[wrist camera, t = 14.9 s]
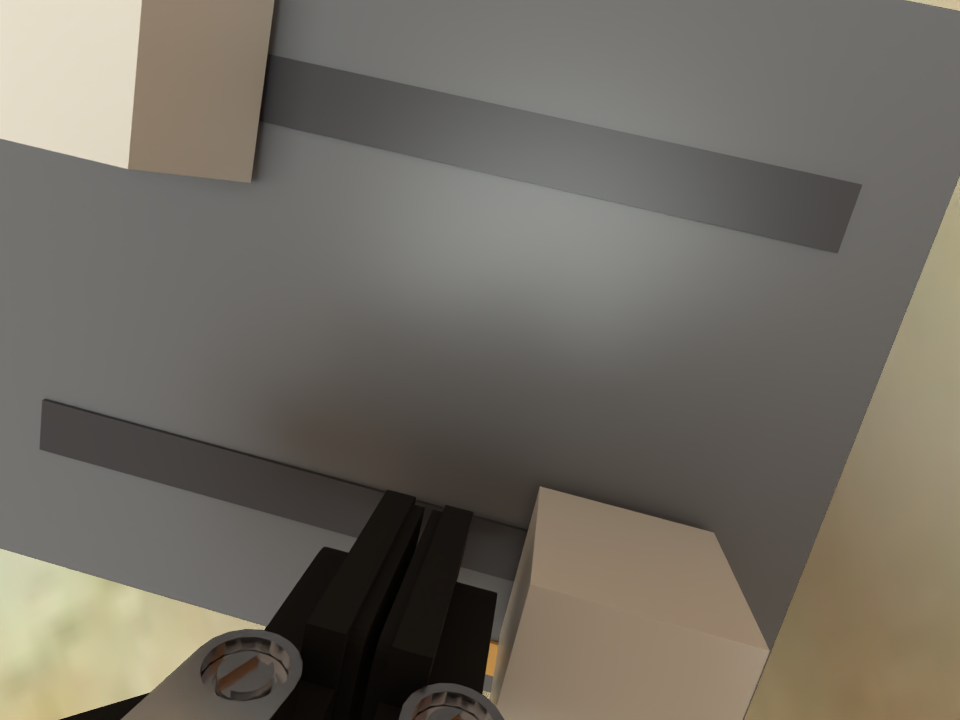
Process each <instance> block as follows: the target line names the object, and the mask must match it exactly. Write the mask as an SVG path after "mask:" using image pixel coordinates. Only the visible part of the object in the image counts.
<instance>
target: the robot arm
mask: <svg viewBox="0 0 960 720" xmlns="http://www.w3.org/2000/svg"><path fill="white" fill-rule="evenodd" d="M415 503H416V497H414V496H411V495H407V494H403V493H399V492H395V491H391V490H387V491H386V492H385V494H384V495H383V497H382V499H381V500H380V502H379V504H378V505H377V507H376V509H375V510H374V512H373V513H372V515H371V517H370V518H369V520H368V522H367V523H366V525H365V527H364V528H363V530H362V532H361V533H360V535H359V536H358V538H357V540H356V541H355V543H354V545H353V546H352V548H351V550H350V551H349V553H348V552H344V551H341V550H337V549H333V548H329V547H323V548H322V549H321V550H320V551H319V552H318V554H317V555H316V557H315V558H314V560H313V561H312V562H311V564H310V565H309V567H308V568H307V570H306V571H305V572H304V574H303V575H302V577H301V578H300V580H299V581H298V582H297V584H296V585H295V587H294V588H293V590H292V591H291V592H290V594H289V595H288V597H287V598H286V600H285V601H284V603H283V604H282V605H281V607H280V608H279V610H278V611H277V613H276V614H275V615H274V617H273V618H272V620H271V621H270V623H269V624H268V625H267V627H266V628H265V630H253V629H244V630H238V631H232V632H228V633H225V634H222V635H220V636H217V637H215V638H213V639H211V640H210V641H208V642H207V643H205V644H204V645H203V646H201V647H200V648H199V649H198V650H197V651H195V652H194V653H193V654H192V655H191V656H190V657H189V658H188V659H187V660H186V661H184V662H183V663H182V664H181V665H180V666H179V667H178V668H177V669H176V670H175V671H174V672H172V673H171V674H170V675H169V676H168V677H167V678H166V679H165V680H164V681H163V682H161V683H160V684H159V685H158V686H157V687H156V688H155V689H154V690H153V691H152V692H150V693H147V694H144V695H140V696H137V697H134V698H130V699H127V700H124V701H120V702H117V703H114V704H110V705H107V706H104V707H100V708H97V709H94V710H90V711H87V712H84V713H80V714H77V715H73V716H70V717H67V718H63V719H60V720H504V718H503V717H502V715H501V713H500V712H499V710H498V709H497V707H496V706H495V705H494V704H493V703H492V702H491V701H490V700H488V699H487V698H486V697H485V696H484V695H482V692H483V686H484V679H485V673H486V666H487V660H488V653H489V647H490V640H491V634H492V627H493V621H494V614H495V608H496V601H497V592H493V591H489V590H485V589H482V588H478V587H474V586H471V585H467V584H463V583H459V582H457V579H458V575H459V571H460V567H461V563H462V559H463V555H464V550H465V546H466V542H467V538H468V534H469V530H470V526H471V521H472V517H473V513H474V512H472V511H468V510H464V509H460V508H456V507H452V506H449V505H445V507H444V510H443V512H441V511H437V510H432V512H431V514H430V517H429V519H428V521H427V524H426V526H425V529H424V531H423V533H422V536H421V538H420V541H419V543H418V538H419V534H420V529H421V525H422V520H423V515H424V510H425V507H422V506H418V505H415ZM417 543H418V545H417ZM416 547H417V548H416Z"/></svg>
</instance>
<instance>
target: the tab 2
mask: <svg viewBox="0 0 960 720" xmlns="http://www.w3.org/2000/svg"><path fill="white" fill-rule="evenodd" d="M769 652H770V650H769V648H768V646H767V644H766V642H765V640H764V638H763V635H762V633H761V631H760V629H759V627H758V625H757V623H756V621H755V619H754V616H753V614H752V612H751V610H750V608H749V606H748V604H747V602H746V599H745V597H744V595H743V593H742V591H741V589H740V587H739V585H738V582H737V580H736V578H735V576H734V574H733V572H732V570H731V568H730V566H729V563H728V561H727V559H726V557H725V555H724V553H723V551H722V549H721V546H720V544H719V542H718V540H717V538H716V536H715V534H714V532H710V531H706V530H702V529H699V528H695V527H691V526H687V525H684V524H680V523H676V522H672V521H669V520H665V519H661V518H657V517H654V516H650V515H646V514H642V513H639V512H635V511H631V510H627V509H624V508H620V507H616V506H612V505H608V504H605V503H601V502H597V501H593V500H590V499H586V498H582V497H578V496H575V495H571V494H567V493H563V492H560V491H556V490H552V489H548V488H545V487H541V486H540V488H539V491H538V495H537V499H536V502H535V506H534V510H533V514H532V517H531V521H530V525H529V528H528V532H527V536H526V540H525V543H524V547H523V551H522V554H521V558H520V562H519V565H518V569H517V573H516V577H515V580H514V584H513V588H512V591H511V595H510V599H509V602H508V606H507V610H506V614H505V617H504V621H503V625H502V628H501V632H500V638H499V644H498V650H497V657H496V663H495V669H494V676H493V682H492V688H491V695H490V701H491V702H492V703H493V704H494V705H495V706H496V707H497V709H498V710H499V712H500V713H501V715H502V717H503V718H504V720H743V717H744V715H745V712H746V710H747V707H748V705H749V702H750V700H751V697H752V695H753V692H754V690H755V687H756V685H757V682H758V680H759V677H760V674H761V672H762V669H763V667H764V664H765V662H766V659H767V657H768V654H769Z"/></svg>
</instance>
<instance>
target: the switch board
mask: <svg viewBox="0 0 960 720" xmlns="http://www.w3.org/2000/svg"><path fill="white" fill-rule="evenodd" d="M959 176H960V11H957V10H952V9H947V8H942V7H936V6H931V5H926V4H921V3H916V2H911V1H906V0H274V8H273V16H272V23H271V31H270V39H269V46H268V54H267V62H266V69H265V77H264V85H263V93H262V100H261V108H260V116H259V123H258V131H257V139H256V146H255V154H254V162H253V170H252V177H251V183H247V182H238V181H229V180H220V179H211V178H202V177H194V176H185V175H176V174H167V173H158V172H149V171H140V170H131V169H125V168H121V167H117V166H113V165H109V164H104V163H100V162H96V161H92V160H88V159H83V158H79V157H75V156H71V155H67V154H63V153H58V152H54V151H50V150H46V149H42V148H37V147H33V146H29V145H25V144H21V143H17V142H12V141H8V140H4V139H0V548H1V549H4V550H8V551H11V552H15V553H18V554H21V555H25V556H28V557H32V558H35V559H38V560H42V561H45V562H49V563H52V564H55V565H59V566H62V567H66V568H69V569H72V570H76V571H79V572H83V573H86V574H90V575H93V576H96V577H100V578H103V579H107V580H110V581H113V582H117V583H120V584H124V585H127V586H130V587H134V588H137V589H141V590H144V591H147V592H151V593H154V594H158V595H161V596H164V597H168V598H171V599H175V600H178V601H181V602H185V603H188V604H192V605H195V606H199V607H202V608H205V609H209V610H212V611H216V612H219V613H222V614H226V615H229V616H233V617H236V618H239V619H243V620H246V621H250V622H253V623H256V624H260V625H263V626H267V625H268V624H269V623H270V621H271V620H272V618H273V617H274V615H275V614H276V613H277V611H278V610H279V608H280V607H281V605H282V604H283V603H284V601H285V600H286V598H287V597H288V595H289V594H290V592H291V591H292V590H293V588H294V587H295V585H296V584H297V582H298V581H299V580H300V578H301V577H302V575H303V574H304V572H305V571H306V570H307V568H308V567H309V565H310V564H311V562H312V561H313V560H314V558H315V557H316V555H317V554H318V552H319V551H320V550H321V549H322V548H323V547H329V548H333V549H337V550H341V551H344V552H348V553H349V551H350V550H351V548H352V546H353V545H354V543H355V541H356V540H357V538H358V536H359V535H360V533H361V532H362V530H363V528H364V527H365V525H366V523H367V522H368V520H369V518H370V517H371V515H372V513H373V512H374V510H375V509H376V507H377V505H378V504H379V502H380V500H381V499H382V497H383V495H384V494H385V492H386V491H387V490H391V491H395V492H399V493H403V494H407V495H411V496H414V497H416V503H415V505H418V506H422V507H425V510H424V515H423V520H422V525H421V529H420V534H419V538H418V543H419V541H420V538H421V536H422V533H423V531H424V529H425V526H426V524H427V521H428V519H429V517H430V514H431V512H432V510H437V511H441V512H443V510H444V507H445V505H449V506H452V507H456V508H460V509H464V510H468V511H472V512H474V513H473V517H472V521H471V526H470V530H469V534H468V538H467V542H466V546H465V550H464V555H463V559H462V563H461V567H460V571H459V575H458V579H457V582H459V583H463V584H467V585H471V586H474V587H478V588H482V589H485V590H489V591H493V592H497V601H496V608H495V614H494V621H493V627H492V634H491V640H490V647H489V653H488V660H487V666H486V673H485V679H484V686H483V690H485V691H488V692H491V688H492V682H493V676H494V669H495V663H496V657H497V650H498V644H499V638H500V632H501V628H502V625H503V621H504V617H505V614H506V610H507V606H508V602H509V599H510V595H511V591H512V588H513V584H514V580H515V577H516V573H517V569H518V565H519V562H520V558H521V554H522V551H523V547H524V543H525V540H526V536H527V532H528V528H529V525H530V521H531V517H532V514H533V510H534V506H535V502H536V499H537V495H538V491H539V488H540V486H541V487H545V488H548V489H552V490H556V491H560V492H563V493H567V494H571V495H575V496H578V497H582V498H586V499H590V500H593V501H597V502H601V503H605V504H608V505H612V506H616V507H620V508H624V509H627V510H631V511H635V512H639V513H642V514H646V515H650V516H654V517H657V518H661V519H665V520H669V521H672V522H676V523H680V524H684V525H687V526H691V527H695V528H699V529H702V530H706V531H710V532H714V534H715V536H716V538H717V540H718V542H719V544H720V546H721V549H722V551H723V553H724V555H725V557H726V559H727V561H728V563H729V566H730V568H731V570H732V572H733V574H734V576H735V578H736V580H737V582H738V585H739V587H740V589H741V591H742V593H743V595H744V597H745V599H746V602H747V604H748V606H749V608H750V610H751V612H752V614H753V616H754V619H755V621H756V623H757V625H758V627H759V629H760V631H761V633H762V635H763V638H764V640H765V642H766V644H767V646H768V648H769V650H770V652H769V654H768V657H767V659H766V662H765V664H764V667H763V669H762V672H761V674H760V677H759V680H760V678H761V675H762V673H763V670H764V668H765V665H766V663H767V660H768V658H769V655H770V653H771V650H772V648H773V645H774V643H775V640H776V638H777V635H778V632H779V630H780V627H781V625H782V622H783V620H784V617H785V615H786V612H787V610H788V607H789V605H790V602H791V600H792V597H793V595H794V592H795V590H796V587H797V585H798V582H799V580H800V577H801V574H802V572H803V569H804V567H805V564H806V562H807V559H808V557H809V554H810V552H811V549H812V547H813V544H814V542H815V539H816V537H817V534H818V532H819V529H820V527H821V524H822V522H823V519H824V516H825V514H826V511H827V509H828V506H829V504H830V501H831V499H832V496H833V494H834V491H835V489H836V486H837V484H838V481H839V479H840V476H841V474H842V471H843V469H844V466H845V464H846V461H847V459H848V456H849V453H850V451H851V448H852V446H853V443H854V441H855V438H856V436H857V433H858V431H859V428H860V426H861V423H862V421H863V418H864V416H865V413H866V411H867V408H868V406H869V403H870V401H871V398H872V395H873V393H874V390H875V388H876V385H877V383H878V380H879V378H880V375H881V373H882V370H883V368H884V365H885V363H886V360H887V358H888V355H889V353H890V350H891V348H892V345H893V343H894V340H895V337H896V335H897V332H898V330H899V327H900V325H901V322H902V320H903V317H904V315H905V312H906V310H907V307H908V305H909V302H910V300H911V297H912V295H913V292H914V290H915V287H916V285H917V282H918V280H919V277H920V274H921V272H922V269H923V267H924V264H925V262H926V259H927V257H928V254H929V252H930V249H931V247H932V244H933V242H934V239H935V237H936V234H937V232H938V229H939V227H940V224H941V222H942V219H943V216H944V214H945V211H946V209H947V206H948V204H949V201H950V199H951V196H952V194H953V191H954V189H955V186H956V184H957V181H958V179H959ZM418 543H417V545H418ZM416 548H417V547H416ZM759 680H758V682H757V685H758V683H759ZM757 685H756V687H755V690H756V688H757ZM755 690H754V692H753V695H754V693H755ZM753 695H752V697H751V700H750V702H749V705H748V707H747V710H746V712H745V715H744V717H743V720H744V718H745V716H746V713H747V711H748V708H749V706H750V703H751V701H752V698H753Z"/></svg>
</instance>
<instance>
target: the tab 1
mask: <svg viewBox="0 0 960 720" xmlns="http://www.w3.org/2000/svg"><path fill="white" fill-rule="evenodd" d="M273 8H274V0H0V139H4V140H8V141H12V142H17V143H21V144H25V145H29V146H33V147H37V148H42V149H46V150H50V151H54V152H58V153H63V154H67V155H71V156H75V157H79V158H83V159H88V160H92V161H96V162H100V163H104V164H109V165H113V166H117V167H121V168H125V169H131V170H140V171H149V172H158V173H167V174H176V175H185V176H194V177H202V178H211V179H220V180H229V181H238V182H247V183H251V177H252V170H253V162H254V154H255V146H256V139H257V131H258V123H259V116H260V108H261V100H262V93H263V85H264V77H265V69H266V62H267V54H268V46H269V39H270V31H271V23H272V16H273Z"/></svg>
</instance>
